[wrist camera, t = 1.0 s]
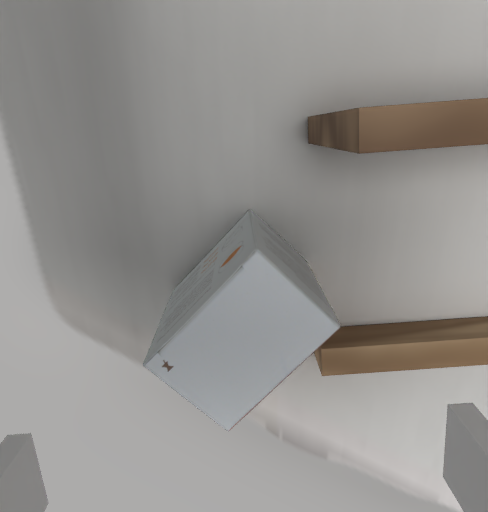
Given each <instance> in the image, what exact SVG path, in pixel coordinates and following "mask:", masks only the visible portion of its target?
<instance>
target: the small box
mask: <svg viewBox="0 0 488 512" xmlns="http://www.w3.org/2000/svg"><path fill="white" fill-rule="evenodd" d="M339 329H340V323H339V321H338V319H337V317H336V315H335V314H334V312H333V310H332V308H331V306H330V304H329V302H328V301H327V299H326V297H325V295H324V293H323V291H322V289H321V287H320V285H319V284H318V282H317V280H316V278H315V276H314V274H313V272H312V271H311V269H310V267H309V265H308V263H307V262H306V261H305V260H304V259H303V258H302V257H301V256H300V255H299V254H298V253H297V252H296V251H295V250H294V249H293V248H292V247H291V246H290V245H289V244H288V243H287V242H286V241H285V240H283V239H282V238H281V237H280V236H279V235H278V234H277V233H276V232H275V231H274V230H273V229H272V228H271V227H270V226H269V225H267V224H266V223H265V222H264V221H263V220H262V219H261V218H260V217H259V216H258V215H257V214H255V213H254V212H253V211H252V210H248V211H247V213H246V214H245V215H244V216H243V217H242V218H241V219H240V220H239V221H238V222H237V223H236V225H235V226H234V227H233V228H232V229H231V230H230V231H229V232H228V233H227V234H226V235H225V236H224V237H223V238H222V239H221V240H220V241H219V243H218V244H217V245H216V246H215V247H214V248H213V249H212V250H211V251H210V252H209V253H208V254H207V255H206V256H205V257H204V258H203V259H202V261H201V262H200V263H199V264H198V265H197V266H196V267H195V268H194V269H193V270H192V271H191V272H190V273H189V274H188V275H187V276H186V277H185V279H184V280H183V281H182V282H181V283H180V284H179V285H178V286H177V287H176V288H175V289H174V290H173V293H172V295H171V297H170V299H169V302H168V304H167V307H166V309H165V312H164V314H163V316H162V319H161V321H160V324H159V326H158V329H157V331H156V334H155V336H154V339H153V341H152V344H151V346H150V348H149V351H148V353H147V356H146V358H145V360H144V363H143V365H144V367H146V368H147V369H148V370H150V371H151V372H152V373H153V374H155V375H156V376H157V377H158V378H160V379H161V380H162V381H163V382H165V383H166V384H167V385H169V386H170V387H171V388H172V389H174V390H175V391H176V392H178V393H179V394H180V395H181V396H183V397H184V398H185V399H186V400H188V401H189V402H190V403H192V404H193V405H194V406H196V407H197V408H198V409H199V410H201V411H202V412H203V413H204V414H206V415H207V416H208V417H210V418H211V419H212V420H214V421H215V422H216V423H217V424H219V425H220V426H222V427H223V428H224V429H225V430H227V431H229V430H231V429H232V428H233V427H234V426H235V425H236V424H237V423H238V422H239V421H240V420H241V419H242V418H244V417H245V416H246V415H247V414H248V413H249V412H250V411H251V410H252V409H253V408H254V407H255V406H256V405H257V404H259V403H260V402H261V401H262V400H263V399H264V398H265V397H266V396H267V395H268V394H269V393H270V392H271V391H272V390H273V389H274V388H276V387H277V386H278V385H279V384H280V383H281V382H282V381H283V380H284V379H285V378H286V377H288V376H289V375H290V374H291V373H292V372H293V371H294V370H295V369H296V368H297V367H298V366H299V365H300V364H302V363H303V362H304V361H305V360H306V359H307V358H308V357H309V356H310V355H311V354H312V353H313V352H314V351H316V350H317V349H318V348H319V347H320V346H321V345H322V344H323V343H324V342H325V341H326V340H328V339H329V338H330V337H331V336H332V335H333V334H334V333H335V332H336V331H337V330H339Z"/></svg>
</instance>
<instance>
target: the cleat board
mask: <svg viewBox="0 0 488 512" xmlns="http://www.w3.org/2000/svg"><path fill="white" fill-rule="evenodd" d="M308 143H309V144H314V145H319V146H324V147H329V148H334V149H339V150H344V151H349V152H354V153H359V154H360V153H373V152H386V151H400V150H413V149H427V148H440V147H453V146H467V145H480V144H488V98H482V99H468V100H455V101H442V102H429V103H416V104H402V105H389V106H376V107H363V108H355V109H350V110H344V111H338V112H333V113H327V114H322V115H316V116H311V117H308ZM314 354H315V357H316V359H317V362H318V365H319V368H320V371H321V374H322V376H329V375H344V374H358V373H372V372H387V371H401V370H416V369H430V368H444V367H459V366H473V365H487V364H488V317H474V318H460V319H446V320H432V321H417V322H403V323H389V324H375V325H361V326H347V327H340V329H339V330H337V331H336V332H335V333H334V334H333V335H332V336H331V337H330V338H329V339H328V340H326V341H325V342H324V343H323V344H322V345H321V346H320V347H319V348H318V349H317V350H316V351H314Z"/></svg>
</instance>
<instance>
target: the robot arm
mask: <svg viewBox="0 0 488 512" xmlns="http://www.w3.org/2000/svg"><path fill="white" fill-rule="evenodd" d="M443 477H444V479H445V481H446V482H447V484H448V486H449V488H450V489H451V491H452V493H453V494H454V496H455V498H456V499H457V501H458V503H459V504H460V506H461V508H462V509H463V511H464V512H488V420H487V419H486V418H485V417H484V416H483V414H482V413H481V412H480V411H479V410H478V409H477V408H476V406H475V405H474V404H473V403H461V404H448V409H447V424H446V438H445V453H444V468H443ZM47 505H48V499H47V495H46V491H45V487H44V483H43V480H42V475H41V471H40V467H39V463H38V459H37V455H36V451H35V447H34V443H33V439H32V435H31V433H30V434H16V435H7V436H6V437H5V438H4V440H3V441H2V442H1V444H0V512H44V511H45V509H46V507H47Z"/></svg>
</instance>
